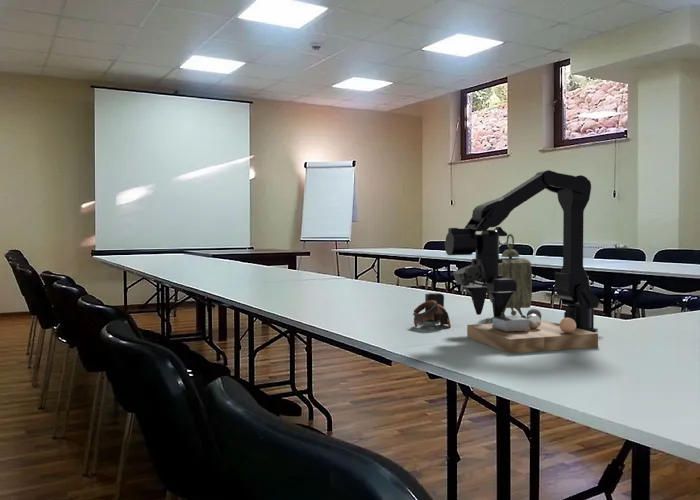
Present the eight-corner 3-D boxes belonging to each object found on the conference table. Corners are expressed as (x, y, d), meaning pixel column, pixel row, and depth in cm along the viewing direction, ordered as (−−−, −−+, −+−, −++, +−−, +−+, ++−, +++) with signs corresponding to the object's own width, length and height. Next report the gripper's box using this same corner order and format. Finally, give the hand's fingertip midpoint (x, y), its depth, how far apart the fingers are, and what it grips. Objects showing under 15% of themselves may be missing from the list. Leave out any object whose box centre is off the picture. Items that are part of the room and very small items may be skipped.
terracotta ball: (569, 331, 134) (569, 316, 134) (579, 334, 131) (579, 318, 131) (556, 332, 133) (556, 316, 133) (565, 334, 130) (565, 319, 130)
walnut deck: (545, 332, 151) (545, 320, 150) (598, 346, 131) (598, 333, 131) (467, 337, 145) (467, 324, 145) (509, 353, 126) (509, 339, 125)
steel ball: (535, 327, 140) (535, 312, 140) (544, 329, 137) (544, 314, 137) (522, 328, 139) (522, 313, 139) (530, 330, 136) (530, 315, 136)
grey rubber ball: (536, 321, 149) (536, 307, 149) (544, 323, 146) (544, 309, 145) (523, 322, 148) (523, 308, 148) (531, 324, 145) (531, 310, 144)
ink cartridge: (440, 319, 173) (441, 292, 173) (443, 321, 171) (444, 293, 171) (424, 320, 172) (425, 293, 172) (427, 321, 170) (428, 293, 170)
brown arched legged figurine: (455, 331, 156) (441, 305, 154) (423, 346, 158) (409, 321, 156) (450, 313, 167) (437, 289, 166) (420, 327, 169) (407, 304, 167)
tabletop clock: (531, 322, 166) (531, 233, 165) (499, 322, 166) (499, 234, 166) (517, 315, 181) (517, 233, 180) (488, 315, 181) (488, 233, 180)
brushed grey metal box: (515, 326, 140) (515, 315, 140) (529, 330, 135) (529, 319, 134) (492, 327, 139) (492, 317, 139) (505, 331, 133) (505, 320, 133)
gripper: (441, 254, 154) (442, 313, 154) (475, 257, 136) (475, 324, 136) (480, 253, 156) (480, 311, 157) (518, 255, 138) (518, 322, 139)
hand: (487, 317), depth 147 cm, fingers open, 9 cm apart
